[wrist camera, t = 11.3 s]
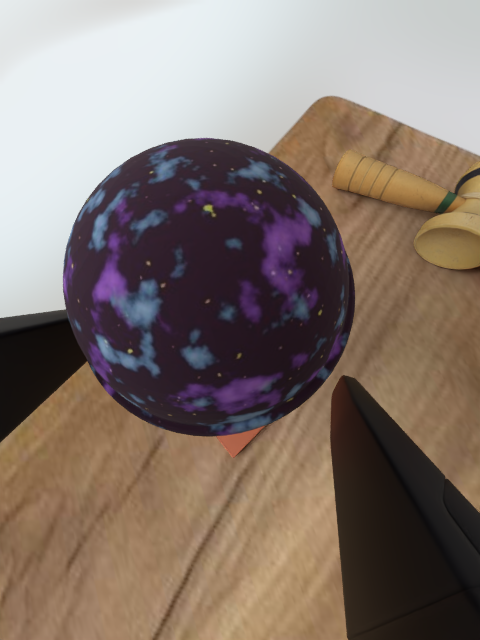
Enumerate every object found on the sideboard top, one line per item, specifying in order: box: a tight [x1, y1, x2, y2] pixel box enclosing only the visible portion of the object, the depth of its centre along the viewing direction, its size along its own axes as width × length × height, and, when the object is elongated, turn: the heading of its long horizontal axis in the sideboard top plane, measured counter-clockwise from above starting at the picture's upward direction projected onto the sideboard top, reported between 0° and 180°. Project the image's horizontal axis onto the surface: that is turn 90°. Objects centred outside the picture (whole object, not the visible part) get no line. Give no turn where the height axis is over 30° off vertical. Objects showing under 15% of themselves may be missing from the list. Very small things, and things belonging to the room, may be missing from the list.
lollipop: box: [63, 138, 355, 436], centre depth 10 cm, size 7×7×15 cm
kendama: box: [332, 149, 480, 269], centre depth 18 cm, size 8×6×18 cm
